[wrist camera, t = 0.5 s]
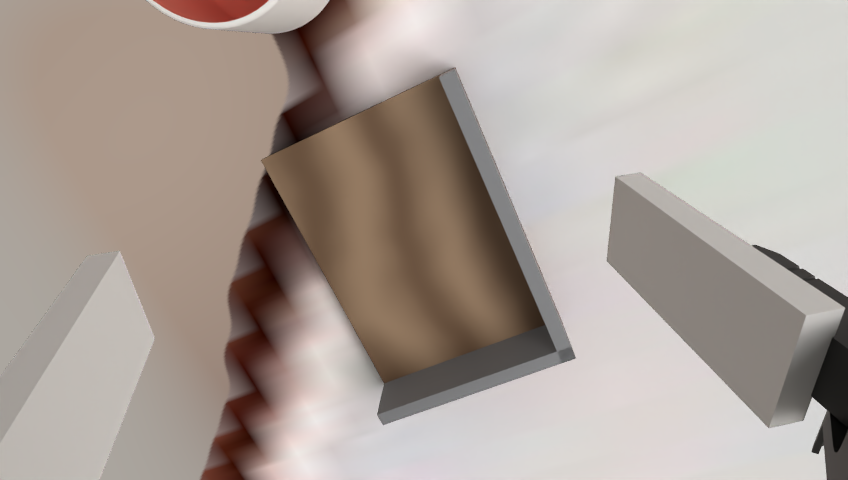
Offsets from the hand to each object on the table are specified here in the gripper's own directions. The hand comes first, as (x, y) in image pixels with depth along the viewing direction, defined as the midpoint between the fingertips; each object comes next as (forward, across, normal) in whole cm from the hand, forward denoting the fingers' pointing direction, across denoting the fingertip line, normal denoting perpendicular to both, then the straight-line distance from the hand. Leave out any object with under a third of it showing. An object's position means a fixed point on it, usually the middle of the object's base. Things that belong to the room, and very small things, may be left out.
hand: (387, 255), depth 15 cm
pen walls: (+22, +4, -12) cm, 25 cm away
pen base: (+23, +4, -13) cm, 26 cm away
